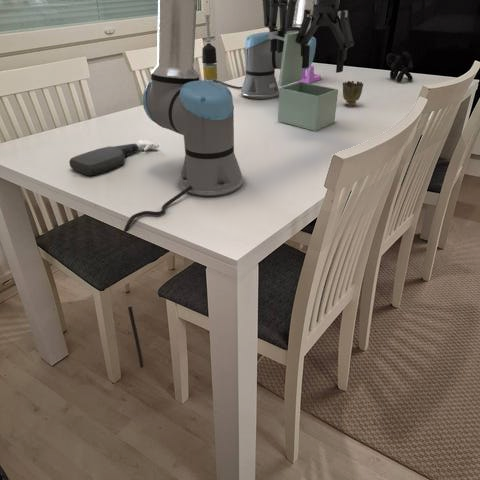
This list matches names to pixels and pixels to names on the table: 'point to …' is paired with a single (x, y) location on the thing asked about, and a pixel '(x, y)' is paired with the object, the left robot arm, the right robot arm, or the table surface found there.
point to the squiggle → (399, 66)
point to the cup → (352, 92)
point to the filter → (209, 57)
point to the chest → (307, 105)
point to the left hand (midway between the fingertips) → (321, 69)
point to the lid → (289, 58)
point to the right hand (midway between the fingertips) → (277, 51)
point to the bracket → (310, 76)
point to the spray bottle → (106, 157)
